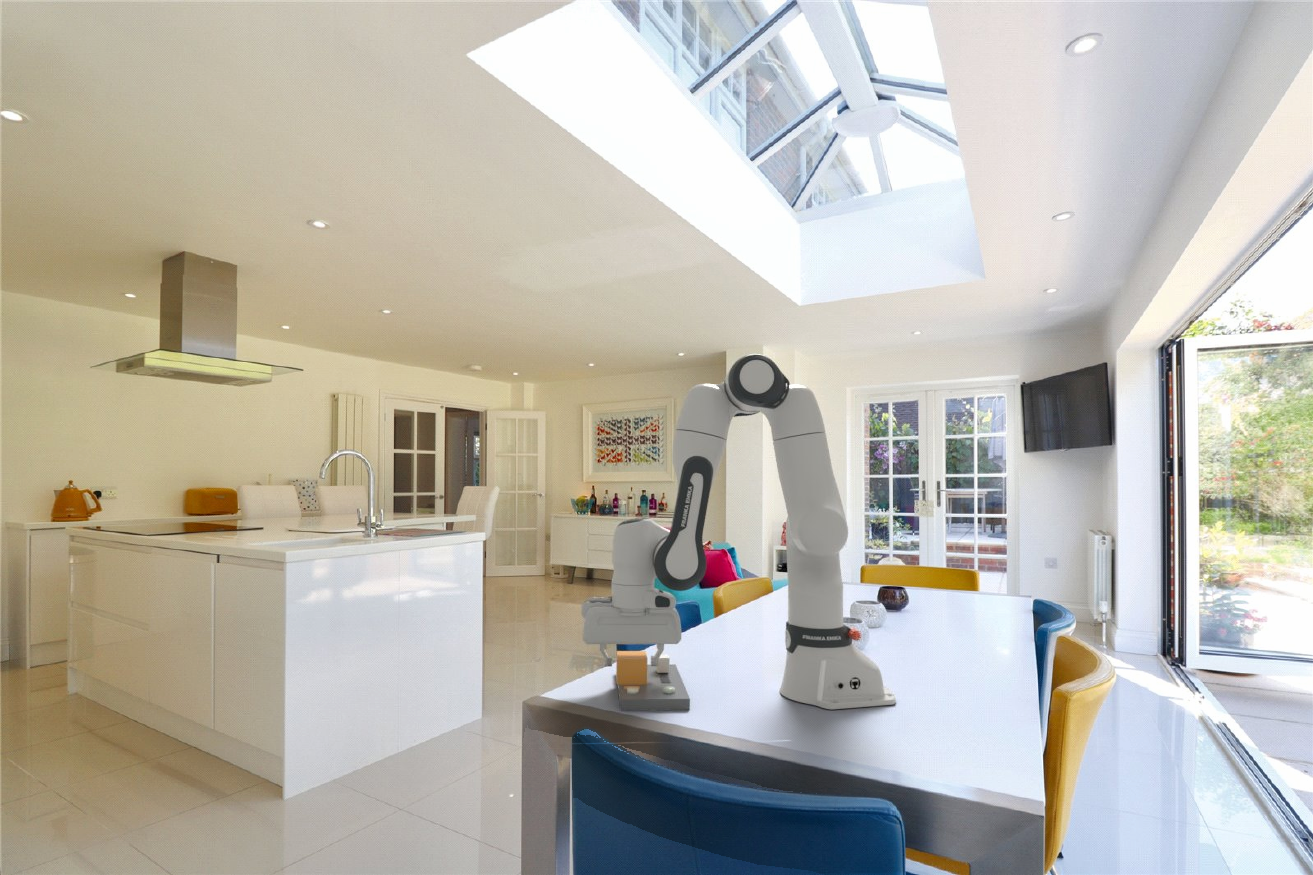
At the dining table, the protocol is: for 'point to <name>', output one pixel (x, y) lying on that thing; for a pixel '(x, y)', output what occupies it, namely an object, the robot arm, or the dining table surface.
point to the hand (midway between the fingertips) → (631, 665)
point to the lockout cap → (631, 668)
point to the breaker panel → (656, 692)
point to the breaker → (663, 664)
